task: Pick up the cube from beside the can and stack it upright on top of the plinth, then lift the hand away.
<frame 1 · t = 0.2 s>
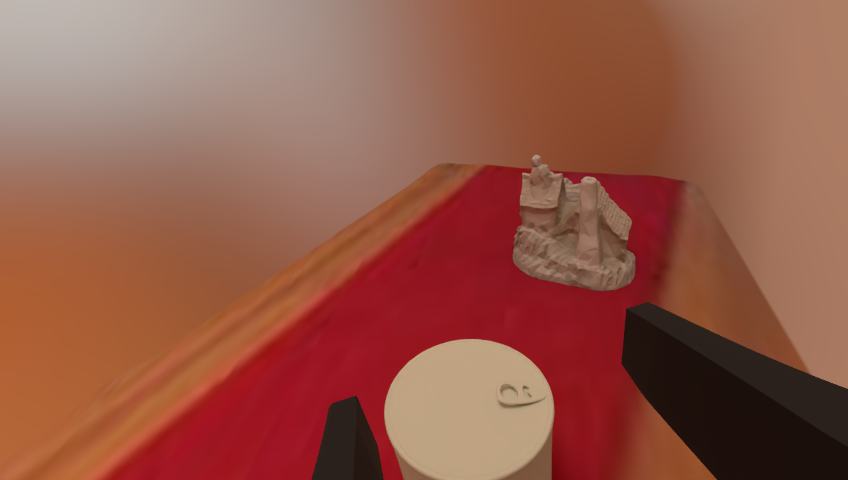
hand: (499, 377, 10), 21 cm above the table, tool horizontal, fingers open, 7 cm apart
ceramic cottage: (574, 253, 53), on the table
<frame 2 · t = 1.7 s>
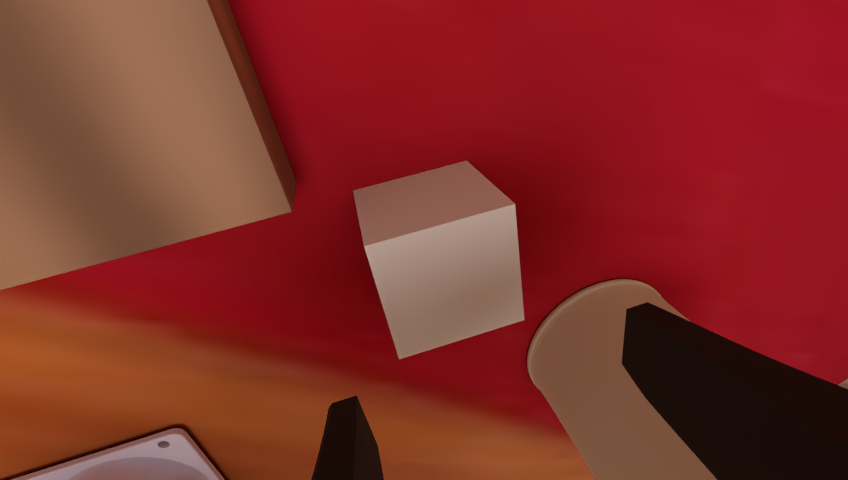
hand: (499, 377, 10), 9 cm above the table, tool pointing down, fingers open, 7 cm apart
plinth: (61, 65, 12), on the table
cube: (421, 225, 18), on the table
can: (593, 338, 25), on the table
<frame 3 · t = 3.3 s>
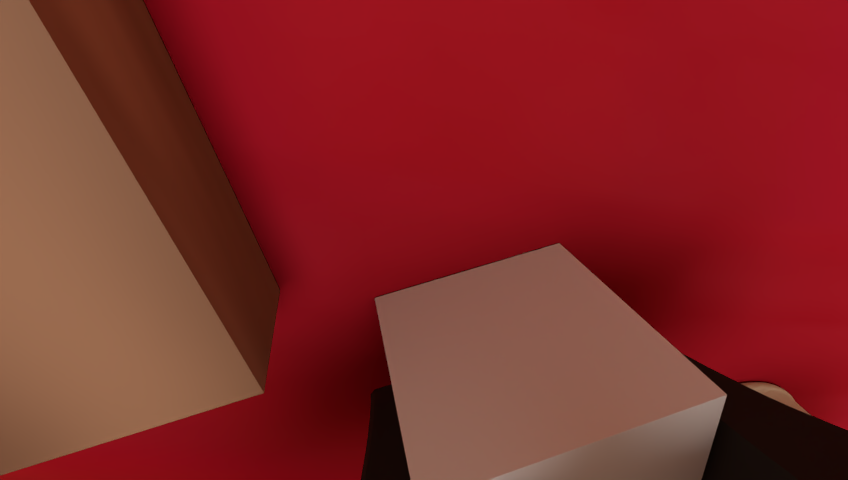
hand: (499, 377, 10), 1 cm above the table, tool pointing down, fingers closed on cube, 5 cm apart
cube: (480, 339, 11), on the table, touching gripper
can: (693, 451, 18), on the table
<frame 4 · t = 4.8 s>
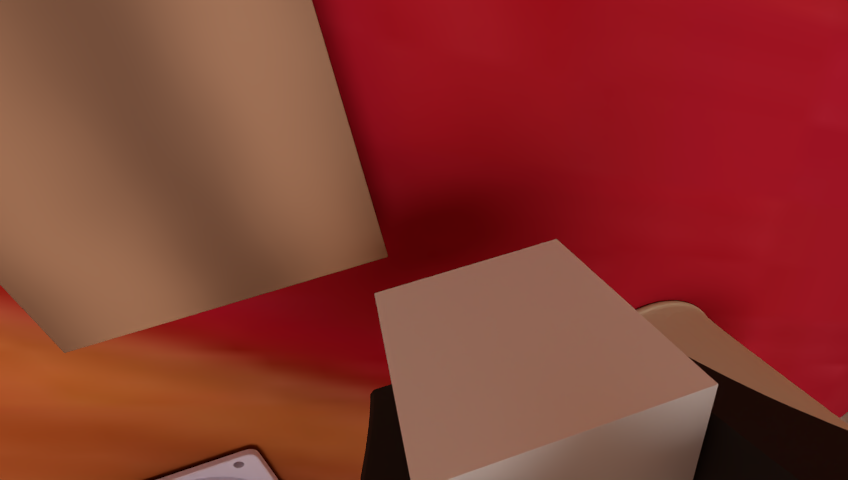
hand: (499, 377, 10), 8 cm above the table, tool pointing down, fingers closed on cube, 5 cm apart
plinth: (177, 124, 13), on the table
cube: (479, 335, 12), point 7 cm above the table, touching gripper
can: (638, 356, 25), on the table
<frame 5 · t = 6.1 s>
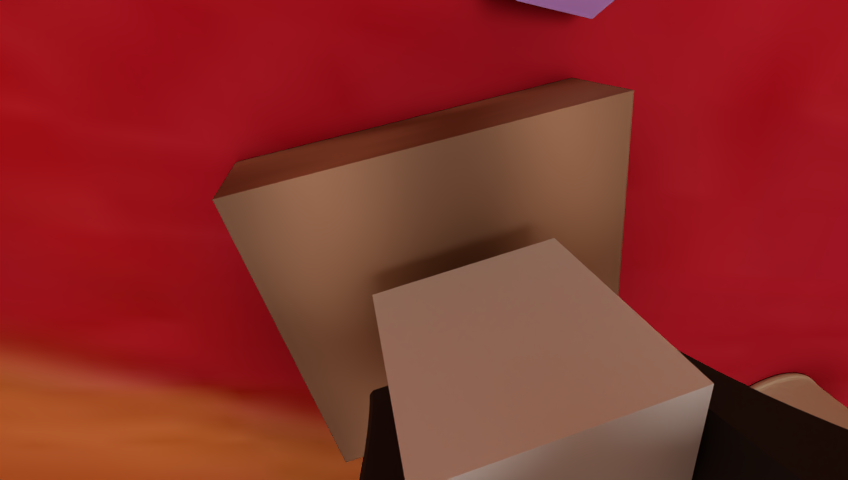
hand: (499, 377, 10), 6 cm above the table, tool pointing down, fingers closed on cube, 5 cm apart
plinth: (440, 261, 15), on the table
cube: (478, 335, 12), point 4 cm above the table, touching gripper
can: (749, 419, 27), on the table
when the fingers open (6 cm above the table, at t = 6.7 s): cube drops 1 cm, resting on plinth.
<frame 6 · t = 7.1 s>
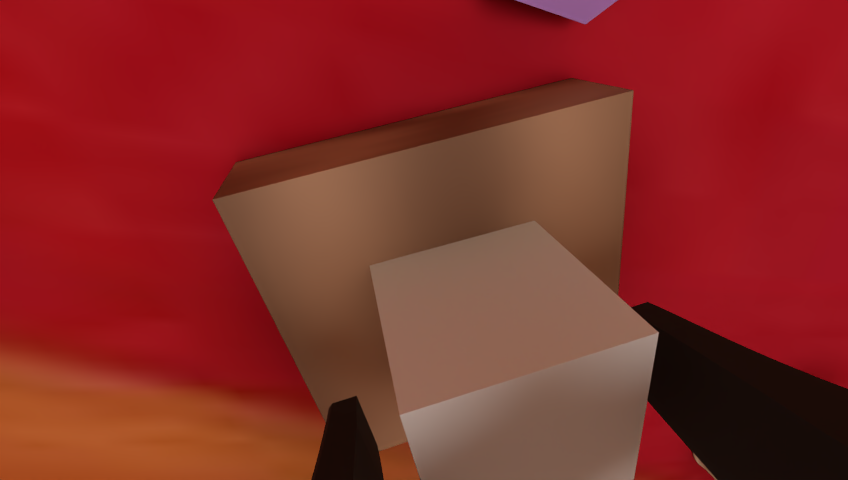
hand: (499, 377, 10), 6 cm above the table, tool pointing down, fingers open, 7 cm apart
plinth: (440, 261, 15), on the table
cube: (464, 308, 13), point 3 cm above the table, touching plinth
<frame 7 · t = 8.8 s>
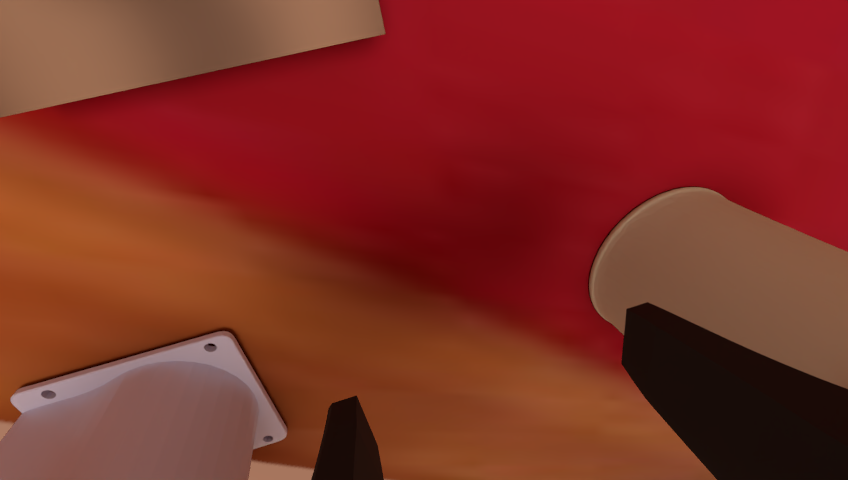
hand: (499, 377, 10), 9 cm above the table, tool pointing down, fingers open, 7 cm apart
can: (657, 259, 23), on the table
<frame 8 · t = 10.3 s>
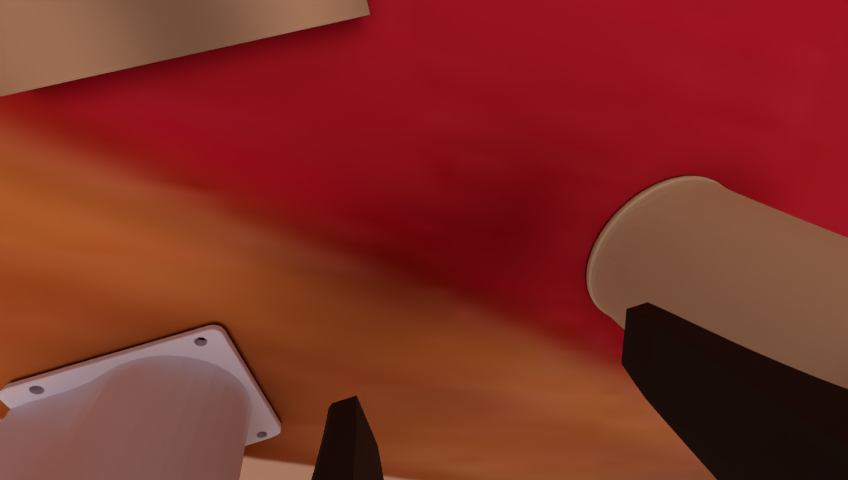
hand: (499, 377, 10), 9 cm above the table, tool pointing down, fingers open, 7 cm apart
can: (656, 250, 23), on the table
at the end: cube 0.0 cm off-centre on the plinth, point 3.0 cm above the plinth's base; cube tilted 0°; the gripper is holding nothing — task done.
